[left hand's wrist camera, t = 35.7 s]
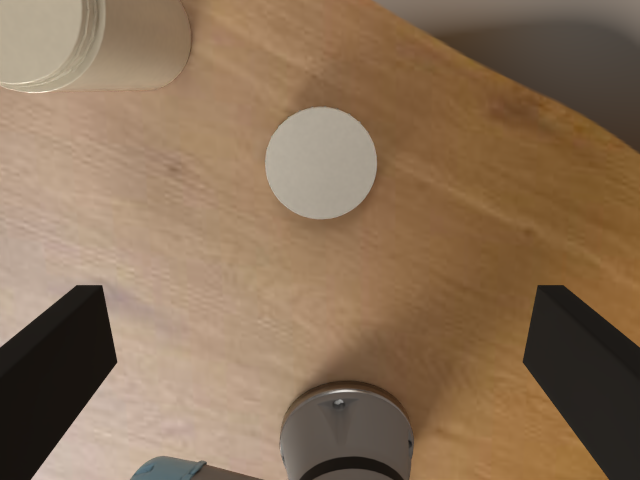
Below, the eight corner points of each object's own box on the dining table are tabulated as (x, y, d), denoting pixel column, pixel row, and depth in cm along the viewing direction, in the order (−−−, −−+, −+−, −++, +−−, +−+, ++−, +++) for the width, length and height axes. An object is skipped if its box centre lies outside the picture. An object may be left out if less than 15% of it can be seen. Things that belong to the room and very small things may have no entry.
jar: (214, 36, 35) (131, -4, 20) (144, 113, 37) (20, 132, 22) (127, -60, 33) (-44, -190, 17) (58, 29, 35) (-150, -18, 19)
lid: (261, 108, 37) (259, 109, 35) (375, 103, 37) (377, 104, 35) (271, 217, 40) (269, 222, 39) (375, 212, 40) (377, 217, 39)
